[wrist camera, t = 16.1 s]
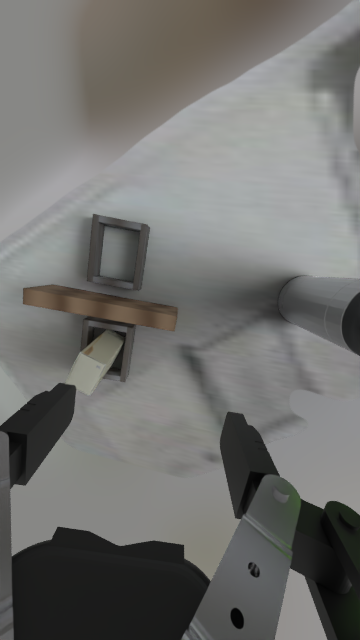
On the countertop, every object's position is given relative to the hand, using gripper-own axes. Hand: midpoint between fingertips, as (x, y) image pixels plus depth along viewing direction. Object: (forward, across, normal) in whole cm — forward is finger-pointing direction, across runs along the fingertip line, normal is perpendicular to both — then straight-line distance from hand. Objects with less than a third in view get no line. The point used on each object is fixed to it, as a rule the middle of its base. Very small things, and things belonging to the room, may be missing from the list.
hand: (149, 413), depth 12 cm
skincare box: (+32, +11, +10) cm, 35 cm away
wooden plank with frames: (+32, +11, +1) cm, 34 cm away
